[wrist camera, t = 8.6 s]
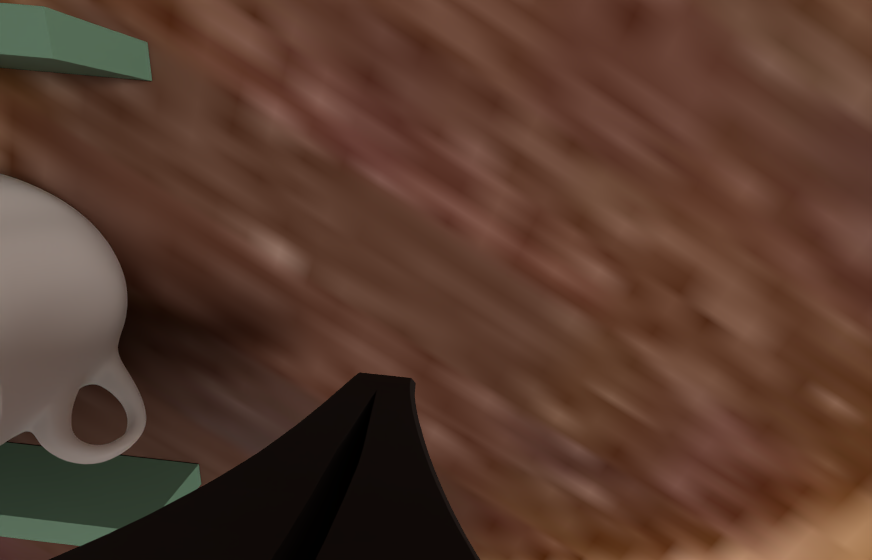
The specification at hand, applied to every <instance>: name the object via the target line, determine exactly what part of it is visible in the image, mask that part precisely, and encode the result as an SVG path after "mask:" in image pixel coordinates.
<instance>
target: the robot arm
mask: <svg viewBox="0 0 872 560" xmlns="http://www.w3.org/2000/svg"><path fill="white" fill-rule="evenodd" d="M49 560H480V559H479V557H478V556H477V554H476V552H475V551H474V549H473V547H472V546H471V544H470V542H469V541H468V539H467V537H466V535H465V534H464V532H463V530H462V528H461V526H460V524H459V522H458V520H457V518H456V516H455V514H454V512H453V510H452V508H451V506H450V504H449V502H448V500H447V498H446V496H445V493H444V491H443V489H442V487H441V484H440V482H439V480H438V477H437V475H436V472H435V470H434V467H433V464H432V462H431V459H430V456H429V454H428V451H427V448H426V444H425V441H424V438H423V434H422V431H421V427H420V423H419V419H418V415H417V410H416V404H415V382H414V381H413V380H412V378H405V377H396V376H387V375H377V374H368V373H358V374H357V375H356V376H354V377H353V378H352V379H351V380H350V381H349V382H347V383H346V384H345V385H344V386H343V387H342V388H341V389H339V390H338V391H337V392H336V393H335V394H334V395H333V396H331V397H330V398H329V399H328V400H327V401H326V402H324V403H323V404H322V405H321V406H319V407H318V408H317V409H316V410H315V411H313V412H312V413H311V414H310V415H308V416H307V417H306V418H305V419H304V420H302V421H301V422H300V423H298V424H297V425H296V426H295V427H293V428H292V429H290V430H289V431H288V432H286V433H285V434H284V435H282V436H281V437H280V438H278V439H277V440H275V441H274V442H273V443H271V444H270V445H269V446H267V447H266V448H264V449H263V450H261V451H260V452H258V453H257V454H255V455H254V456H252V457H251V458H249V459H248V460H246V461H244V462H243V463H241V464H240V465H238V466H236V467H235V468H233V469H231V470H230V471H228V472H226V473H225V474H223V475H221V476H220V477H218V478H216V479H215V480H213V481H211V482H209V483H208V484H206V485H204V486H202V487H200V488H198V489H196V490H194V491H192V492H190V493H189V494H187V495H185V496H183V497H181V498H179V499H177V500H175V501H173V502H171V503H170V504H168V505H166V506H164V507H162V508H160V509H158V510H156V511H154V512H153V513H151V514H149V515H147V516H145V517H142V518H140V519H138V520H136V521H134V522H132V523H130V524H128V525H126V526H123V527H121V528H119V529H117V530H115V531H113V532H111V533H109V534H106V535H104V536H102V537H100V538H97V539H95V540H93V541H91V542H88V543H86V544H84V545H81V546H79V547H77V548H75V549H72V550H70V551H68V552H66V553H63V554H61V555H59V556H56V557H54V558H51V559H49Z"/></svg>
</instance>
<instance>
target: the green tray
mask: <svg viewBox="0 0 872 560" xmlns="http://www.w3.org/2000/svg"><path fill="white" fill-rule="evenodd" d="M0 68H10V69H21V70H33V71H44V72H56V73H67V74H78V75H90V76H101V77H113V78H124V79H135V80H147V81H152V77H151V68H150V60H149V52H148V44H147V42H145V41H142V40H139V39H136V38H133V37H130V36H127V35H124V34H122V33H119V32H116V31H113V30H110V29H107V28H104V27H101V26H98V25H96V24H93V23H90V22H87V21H84V20H81V19H78V18H75V17H72V16H70V15H67V14H64V13H61V12H58V11H55V10H52V9H49V8H47V7H43V6H31V5H19V4H7V3H0ZM200 485H201V479H200V471H199V464H191V463H183V462H174V461H165V460H156V459H148V458H139V457H130V456H121V455H118V456H116V457H114V458H112V459H110V460H107V461H104V462H101V463H95V464H78V463H73V462H69V461H65V460H63V459H60V458H58V457H56V456H55V455H53V454H51V453H50V452H49V451H47V450H46V449H45V448H44V447H43V446H34V445H25V444H17V443H8V442H5V443H4V444H2V445H1V446H0V536H3V537H11V538H19V539H27V540H36V541H44V542H52V543H60V544H69V545H77V546H81V545H84V544H86V543H88V542H91V541H93V540H95V539H97V538H100V537H102V536H104V535H106V534H109V533H111V532H113V531H115V530H117V529H119V528H121V527H123V526H126V525H128V524H130V523H132V522H134V521H136V520H138V519H140V518H142V517H145V516H147V515H149V514H151V513H153V512H154V511H156V510H158V509H160V508H162V507H164V506H166V505H168V504H170V503H171V502H173V501H175V500H177V499H179V498H181V497H183V496H185V495H187V494H189V493H190V492H192V491H194V490H196V489H198V487H199V486H200Z"/></svg>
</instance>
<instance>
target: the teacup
mask: <svg viewBox="0 0 872 560" xmlns="http://www.w3.org/2000/svg"><path fill="white" fill-rule="evenodd" d="M126 314H127V287H126V282H125V278H124V274H123V271H122V268H121V266H120V263H119V261H118V259H117V257H116V255H115V253H114V251H113V250H112V248H111V246H110V245H109V243H108V242H107V240H106V239H105V238H104V237H103V235H102V234H101V233H100V232H99V230H98V229H97V228H96V227H95V226H94V225H93V224H92V223H91V222H90V221H89V220H88V219H87V218H85V217H84V216H83V215H82V214H81V213H80V212H78V211H77V210H76V209H74V208H73V207H72V206H70V205H69V204H67V203H66V202H64V201H63V200H61V199H59V198H58V197H56V196H54V195H52V194H50V193H49V192H46V191H44V190H42V189H40V188H38V187H36V186H34V185H31V184H29V183H27V182H24V181H22V180H19V179H16V178H13V177H10V176H7V175H4V174H0V446H1V445H2V444H4V443H5V442H7V441H8V440H10V439H11V438H13V437H15V436H17V435H19V434H21V433H23V432H25V431H28V432H31V433H33V434H34V435H35V437H36V438H37V440H38V441H39V443H40V444H41V445H42V446H43V447H44V448H45V449H46V450H47V451H49V452H50V453H51V454H53V455H55V456H56V457H58V458H60V459H63V460H65V461H69V462H73V463H78V464H95V463H101V462H104V461H107V460H110V459H112V458H114V457H116V456H118V455H120V454H122V453H123V452H125V451H126V450H127V449H129V448H130V447H131V446H132V445H133V444H134V443H135V442H136V441H137V440H138V439H139V437H140V436H141V434H142V433H143V431H144V428H145V424H146V411H145V406H144V403H143V400H142V397H141V395H140V392H139V390H138V388H137V386H136V384H135V383H134V381H133V379H132V377H131V376H130V374H129V373H128V371H127V369H126V368H125V366H124V364H123V363H122V361H121V358H120V356H119V352H118V344H119V339H120V336H121V333H122V330H123V327H124V323H125V319H126ZM90 384H96V385H99V386H102V387H103V388H105V389H107V390H108V391H109V392H111V393H112V394H113V395H114V396H115V397H116V398H117V399H118V400H119V402H120V403H121V404H122V406H123V407H124V409H125V411H126V415H127V420H128V425H127V430H126V432H125V433H124V435H123V436H121V437H120V438H119V439H117V440H115V441H113V442H110V443H108V444H103V445H93V444H88V443H85V442H83V441H81V440H79V439H78V438H77V437H76V436H75V434H74V432H73V430H72V425H71V416H72V410H73V405H74V401H75V398H76V395H77V393H78V391H79V389H80V388H82V387H83V386H86V385H90Z"/></svg>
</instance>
